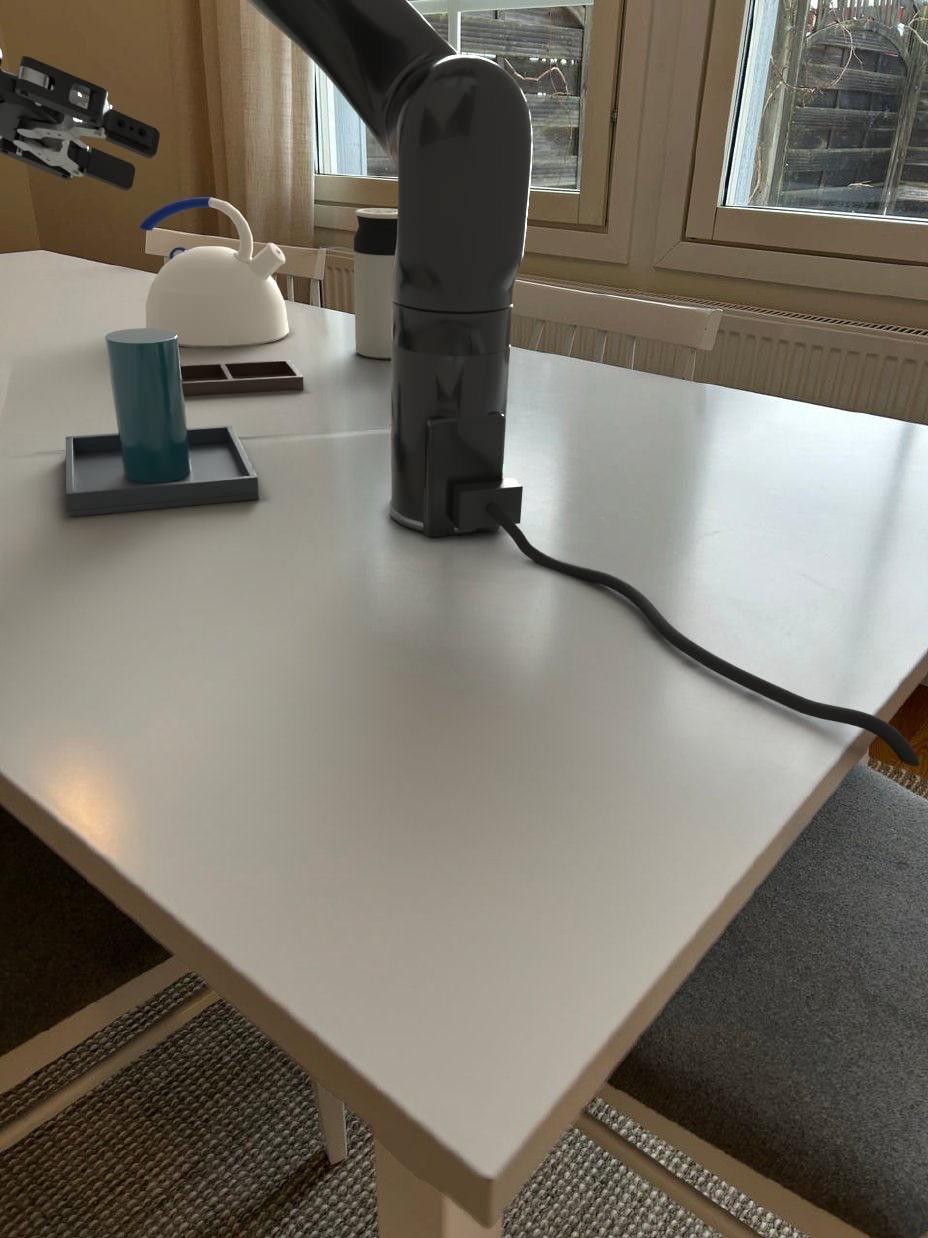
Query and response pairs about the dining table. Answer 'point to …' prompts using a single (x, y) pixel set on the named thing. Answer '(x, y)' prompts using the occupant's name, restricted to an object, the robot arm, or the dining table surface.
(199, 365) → the tray
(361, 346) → the travel mug
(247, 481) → the tray
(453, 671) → the dining table surface
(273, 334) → the kettle
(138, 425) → the teal cylinder
